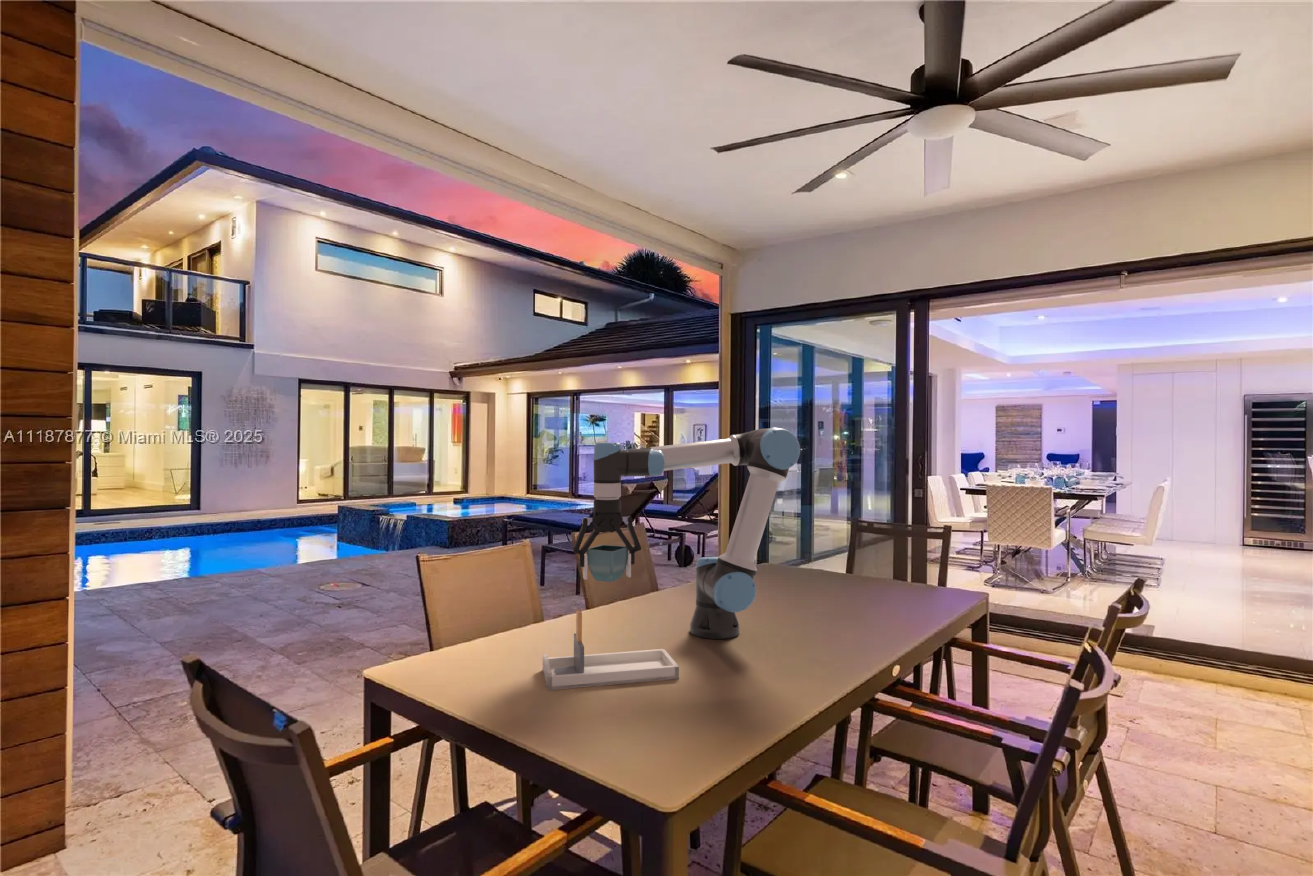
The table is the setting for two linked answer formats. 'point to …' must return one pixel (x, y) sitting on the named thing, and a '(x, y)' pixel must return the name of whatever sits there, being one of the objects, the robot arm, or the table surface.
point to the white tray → (611, 669)
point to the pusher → (575, 651)
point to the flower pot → (607, 562)
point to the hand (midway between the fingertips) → (607, 577)
